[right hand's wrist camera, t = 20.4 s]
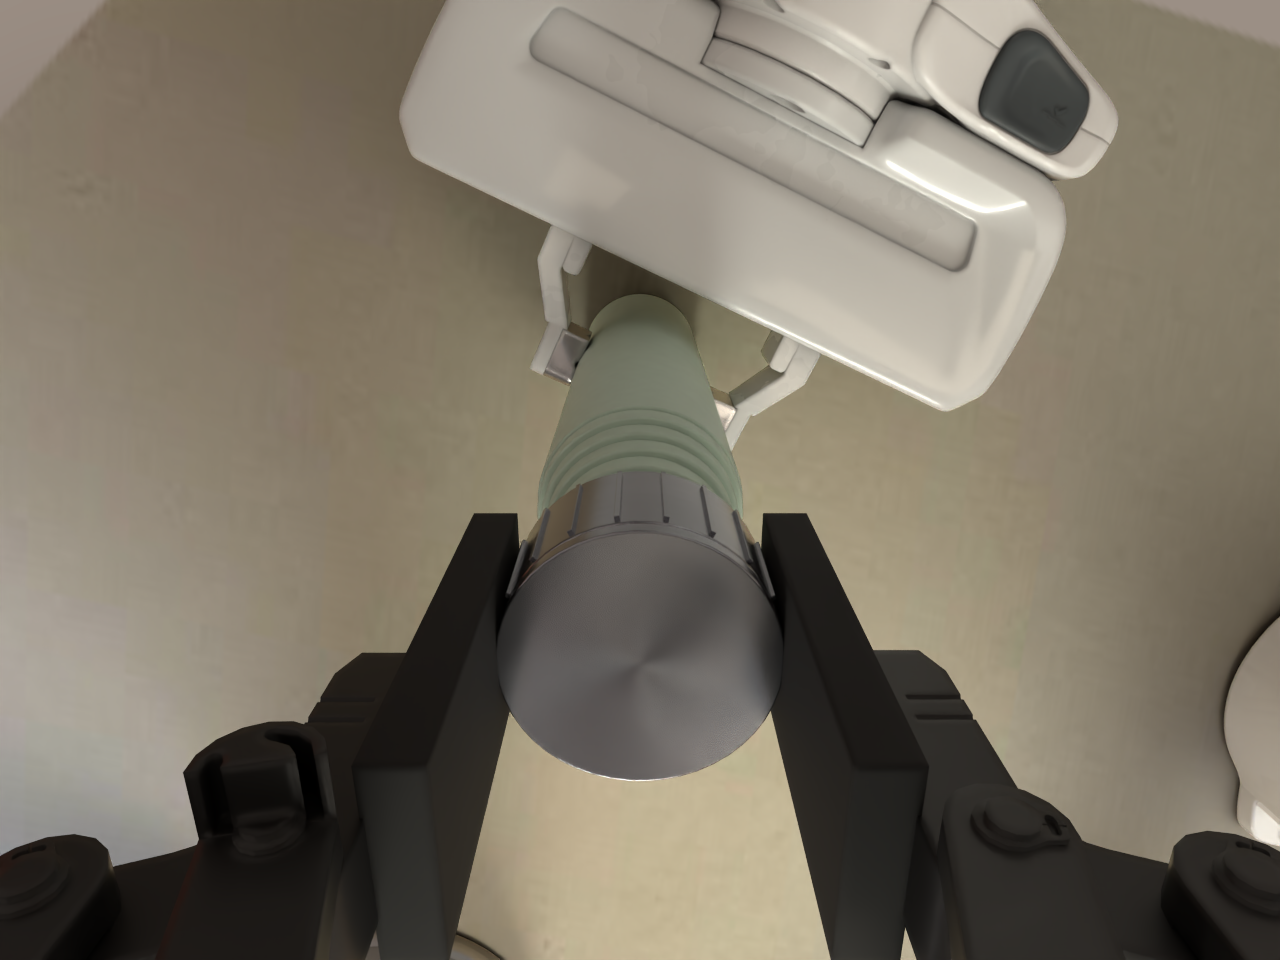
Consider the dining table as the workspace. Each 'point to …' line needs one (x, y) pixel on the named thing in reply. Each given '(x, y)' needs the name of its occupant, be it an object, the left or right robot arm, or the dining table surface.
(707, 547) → the cap
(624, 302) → the bottle
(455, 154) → the left robot arm
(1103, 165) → the dining table surface
